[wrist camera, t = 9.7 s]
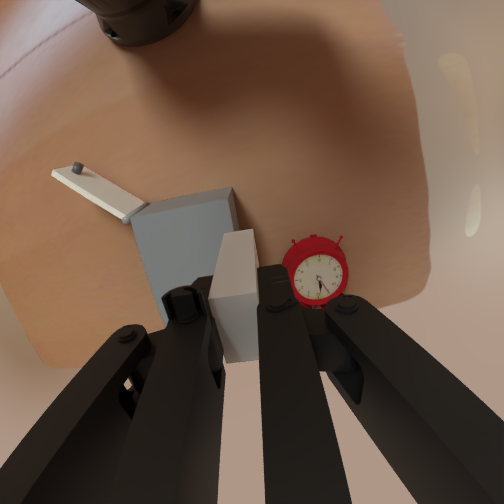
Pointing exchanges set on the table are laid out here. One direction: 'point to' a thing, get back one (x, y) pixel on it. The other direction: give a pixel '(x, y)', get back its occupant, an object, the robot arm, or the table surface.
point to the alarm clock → (316, 270)
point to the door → (100, 191)
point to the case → (183, 238)
